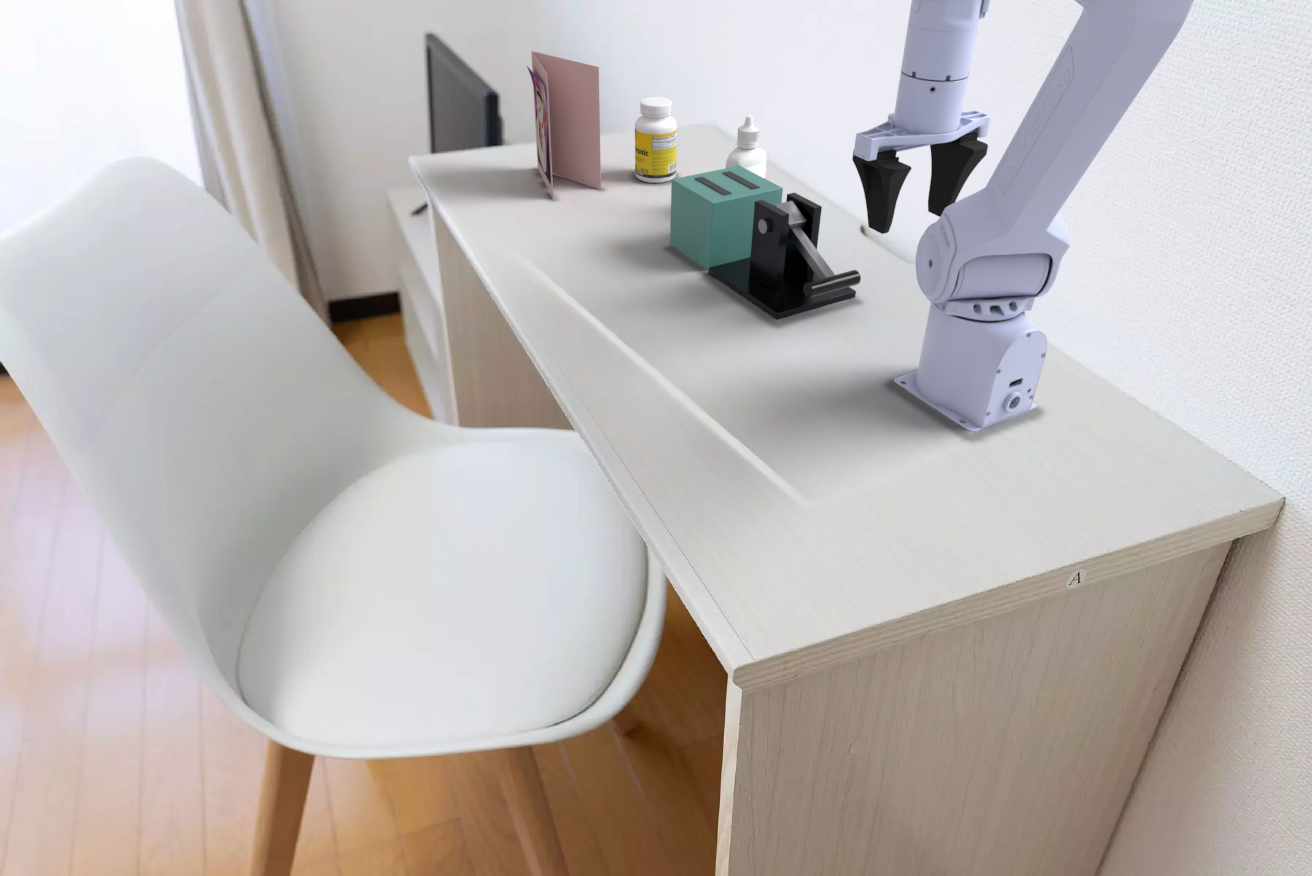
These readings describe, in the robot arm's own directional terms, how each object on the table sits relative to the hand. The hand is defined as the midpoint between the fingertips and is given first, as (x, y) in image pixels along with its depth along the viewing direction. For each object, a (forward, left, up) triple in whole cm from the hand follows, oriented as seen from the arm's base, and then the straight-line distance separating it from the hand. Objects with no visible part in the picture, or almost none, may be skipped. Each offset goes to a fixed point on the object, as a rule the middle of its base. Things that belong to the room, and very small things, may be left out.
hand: (908, 222), depth 91 cm
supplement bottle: (+44, +1, -10) cm, 46 cm away
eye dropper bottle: (+28, -1, -10) cm, 29 cm away
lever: (+6, +7, -5) cm, 11 cm away
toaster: (+20, +7, -9) cm, 23 cm away
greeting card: (+48, +12, -10) cm, 51 cm away
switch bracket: (+10, +7, -9) cm, 15 cm away
